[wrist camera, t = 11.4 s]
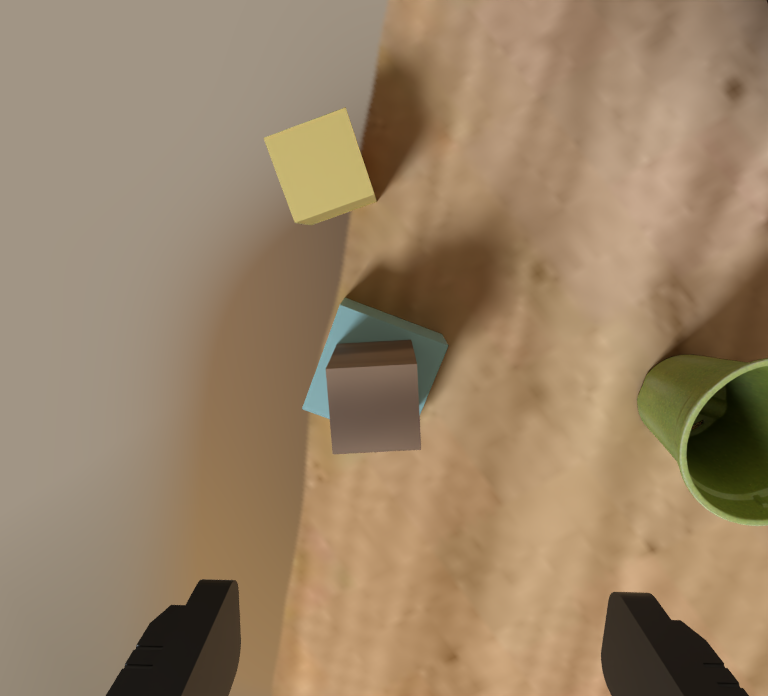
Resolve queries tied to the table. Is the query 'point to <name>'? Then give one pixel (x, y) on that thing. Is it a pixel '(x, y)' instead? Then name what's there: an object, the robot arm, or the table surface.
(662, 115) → the table surface
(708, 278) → the table surface
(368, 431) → the walnut block
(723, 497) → the plant pot
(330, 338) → the teal plinth block
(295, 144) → the mustard block
